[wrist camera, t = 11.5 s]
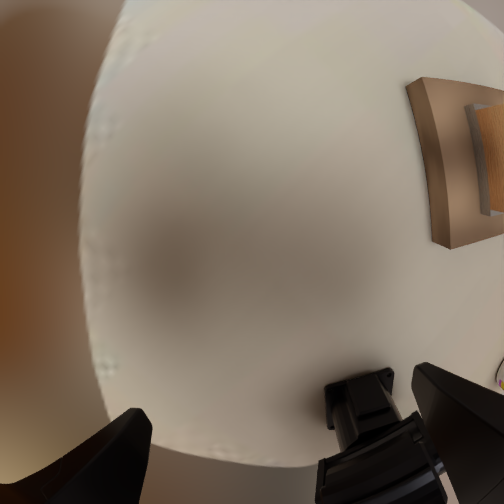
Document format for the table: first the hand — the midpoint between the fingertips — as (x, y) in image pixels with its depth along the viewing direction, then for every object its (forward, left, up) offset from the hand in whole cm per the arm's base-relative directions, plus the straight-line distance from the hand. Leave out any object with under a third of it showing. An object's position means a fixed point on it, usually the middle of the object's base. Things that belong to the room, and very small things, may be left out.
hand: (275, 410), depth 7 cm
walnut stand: (+6, -19, -12) cm, 23 cm away
